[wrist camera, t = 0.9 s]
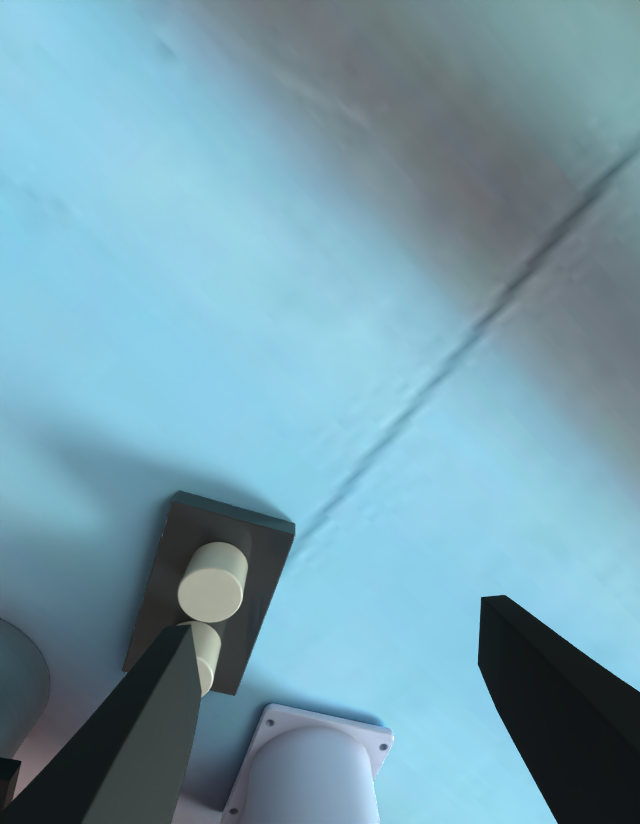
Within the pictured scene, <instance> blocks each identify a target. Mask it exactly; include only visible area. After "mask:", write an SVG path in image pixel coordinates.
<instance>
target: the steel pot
mask: <svg viewBox="0 0 640 824" xmlns="http://www.w3.org/2000/svg"><path fill="white" fill-rule="evenodd" d="M49 691H50V677H49V672H48V668H47V666H46V663H45V661H44V659H43V657H42V655H41V653H40V652H39V650H38V649H37V648H36V646H35V645H34V644H33V643H32V642H31V641H30V639H29V638H28V637H27V636H25V635H24V634H23V633H22V632H21V631H19V630H18V629H17V628H15V627H14V626H12V625H11V624H9V623H7V622H5V621H3V620H1V619H0V813H1V812H2V811H3V810H4V809H5V808H6V807H7V806H8V805H9V804H10V803H11V801H12V799H13V795H14V791H15V787H16V783H17V779H18V774H19V770H20V766H21V761H19V760H13V759H12V758H13V756H14V755H15V753H16V752H17V750H18V749H19V747H20V746H21V744H22V743H23V741H24V739H25V738H26V736H27V735H28V733H29V732H30V730H31V729H32V727H33V725H34V724H35V722H36V721H37V719H38V718H39V716H40V715H41V713H42V711H43V709H44V708H45V706H46V703H47V700H48V697H49Z"/></svg>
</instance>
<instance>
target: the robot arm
mask: <svg viewBox="0 0 640 824" xmlns="http://www.w3.org/2000/svg"><path fill="white" fill-rule="evenodd" d="M478 666H479V668H480V671H481V673H482V676H483V678H484V681H485V683H486V686H487V688H488V690H489V693H490V695H491V697H492V700H493V702H494V704H495V707H496V709H497V711H498V713H499V715H500V717H501V719H502V721H503V723H504V725H505V727H506V729H507V730H508V732H509V734H510V736H511V738H512V740H513V742H514V744H515V745H516V747H517V749H518V751H519V753H520V755H521V757H522V758H523V760H524V762H525V764H526V766H527V768H528V769H529V771H530V773H531V775H532V777H533V779H534V781H535V782H536V784H537V786H538V788H539V790H540V792H541V794H542V795H543V797H544V799H545V801H546V803H547V805H548V806H549V808H550V810H551V812H552V814H553V816H554V818H555V819H556V821H557V823H558V824H640V692H639V691H638V690H636V689H635V688H633V687H632V686H630V685H629V684H627V683H626V682H624V681H623V680H621V679H620V678H618V677H617V676H615V675H614V674H612V673H611V672H610V671H608V670H607V669H605V668H604V667H602V666H601V665H600V664H598V663H597V662H595V661H594V660H593V659H591V658H590V657H588V656H587V655H586V654H584V653H583V652H581V651H580V650H579V649H577V648H576V647H575V646H573V645H572V644H570V643H569V642H568V641H566V640H565V639H564V638H562V637H561V636H560V635H558V634H557V633H556V632H554V631H553V630H552V629H550V628H549V627H548V626H546V625H545V624H544V623H542V622H541V621H540V620H538V619H537V618H536V617H534V616H533V615H532V614H530V613H529V612H528V611H526V610H525V609H524V608H522V607H521V606H520V605H518V604H517V603H516V602H514V601H513V600H511V599H510V598H509V597H507V596H506V595H499V596H488V597H481V612H480V631H479V650H478ZM201 694H202V690H201V684H200V677H199V671H198V665H197V658H196V652H195V646H194V640H193V633H192V627H191V624H189V625H178V626H167V627H165V628H164V629H163V630H162V631H161V632H160V634H159V635H158V636H157V637H156V638H155V640H154V641H153V642H152V643H151V645H150V646H149V647H148V648H147V650H146V651H145V652H144V653H143V655H142V656H141V657H140V658H139V660H138V661H137V662H136V663H135V664H134V666H133V667H132V668H131V669H130V671H129V672H128V673H127V674H126V675H125V677H124V678H123V679H122V680H121V682H120V683H119V684H118V685H117V686H116V688H115V689H114V690H113V691H112V692H111V693H110V695H109V696H108V697H107V698H106V699H105V700H104V702H103V703H102V704H101V705H100V706H99V708H98V709H97V710H96V711H95V712H94V713H93V715H92V716H91V717H90V718H89V719H88V720H87V722H86V723H85V724H84V725H83V726H82V727H81V728H80V729H79V730H78V732H77V733H76V734H75V735H74V736H73V737H72V738H71V739H70V740H69V741H68V743H67V744H66V745H65V746H64V747H63V748H62V749H61V750H60V751H59V752H58V754H57V755H56V756H55V757H54V758H53V759H52V760H51V761H50V762H49V764H48V765H47V766H46V767H45V768H44V769H43V770H42V771H41V772H40V773H39V774H38V775H37V776H36V777H35V778H34V779H33V780H32V781H31V782H30V783H29V785H28V786H27V787H26V788H25V789H24V790H23V791H22V792H21V793H20V794H19V795H18V796H17V797H16V798H15V799H14V800H13V801H12V802H11V803H10V804H9V805H8V806H7V807H6V808H5V809H4V810H3V811H2V812H1V813H0V824H171V822H172V818H173V815H174V811H175V808H176V804H177V800H178V797H179V793H180V790H181V786H182V782H183V778H184V775H185V771H186V767H187V764H188V760H189V756H190V753H191V749H192V745H193V740H194V735H195V729H196V724H197V718H198V712H199V706H200V700H201ZM393 742H394V735H393V731H392V730H391V729H389V728H385V727H381V726H376V725H372V724H367V723H362V722H358V721H353V720H348V719H344V718H339V717H335V716H330V715H325V714H321V713H316V712H312V711H307V710H302V709H298V708H293V707H289V706H284V705H279V704H274V703H272V704H269V705H267V706H266V707H265V708H264V711H263V713H262V716H261V718H260V721H259V723H258V726H257V728H256V731H255V733H254V736H253V738H252V741H251V743H250V746H249V748H248V751H247V753H246V756H245V758H244V761H243V763H242V766H241V768H240V771H239V773H238V776H237V778H236V781H235V783H234V786H233V788H232V791H231V793H230V796H229V798H228V801H227V803H226V806H225V809H224V811H223V814H222V818H221V824H380V819H379V813H378V807H377V801H376V796H375V790H374V784H373V782H374V780H375V778H376V776H377V774H378V772H379V770H380V768H381V766H382V764H383V762H384V760H385V758H386V756H387V754H388V752H389V750H390V748H391V746H392V744H393Z"/></svg>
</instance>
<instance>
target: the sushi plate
mask: <svg viewBox="0 0 640 824" xmlns="http://www.w3.org/2000/svg"><path fill="white" fill-rule="evenodd" d="M294 538H295V523H292V522H289V521H285V520H282V519H278V518H275V517H271V516H268V515H264V514H261V513H257V512H254V511H250V510H247V509H243V508H240V507H236V506H233V505H229V504H226V503H222V502H219V501H215V500H212V499H208V498H205V497H201V496H198V495H195V494H191V493H188V492H184V491H178V493H177V494H176V496H175V497H174V498H173V500H172V501H171V505H170V508H169V512H168V515H167V518H166V522H165V525H164V529H163V532H162V536H161V539H160V542H159V546H158V549H157V553H156V556H155V559H154V563H153V566H152V570H151V573H150V576H149V580H148V583H147V587H146V590H145V593H144V597H143V600H142V604H141V607H140V610H139V614H138V617H137V621H136V624H135V627H134V631H133V634H132V638H131V641H130V645H129V648H128V651H127V655H126V658H125V662H124V665H123V668H122V671H123V672H127V673H128V672H129V671H130V669H131V668H132V667H133V666H134V664H135V663H136V662H137V661H138V660H139V658H140V657H141V656H142V655H143V653H144V652H145V651H146V650H147V648H148V647H149V646H150V645H151V643H152V642H153V641H154V640H155V638H156V637H157V636H158V635H159V634H160V632H161V631H162V630H163V629H164V628H165V627H167V626H178V625H189V624H191V627H192V633H193V640H194V646H195V652H196V658H197V665H198V671H199V677H200V684H201V690H202V694H201V697H203V696H204V695H205V694H206V693H207V692H208V691H209V690H210V691H214V692H219V693H224V694H228V695H233V696H235V695H236V693H237V690H238V688H239V685H240V682H241V680H242V677H243V674H244V672H245V669H246V666H247V664H248V661H249V658H250V656H251V653H252V650H253V648H254V645H255V642H256V640H257V637H258V634H259V632H260V629H261V626H262V624H263V621H264V618H265V616H266V613H267V610H268V608H269V605H270V602H271V600H272V597H273V594H274V592H275V589H276V586H277V584H278V581H279V578H280V576H281V573H282V570H283V568H284V565H285V562H286V560H287V557H288V554H289V552H290V549H291V546H292V544H293V541H294Z"/></svg>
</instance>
